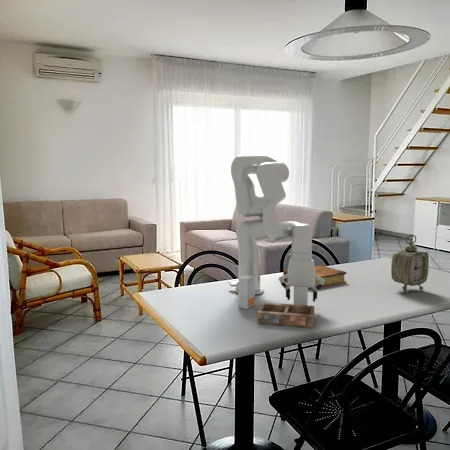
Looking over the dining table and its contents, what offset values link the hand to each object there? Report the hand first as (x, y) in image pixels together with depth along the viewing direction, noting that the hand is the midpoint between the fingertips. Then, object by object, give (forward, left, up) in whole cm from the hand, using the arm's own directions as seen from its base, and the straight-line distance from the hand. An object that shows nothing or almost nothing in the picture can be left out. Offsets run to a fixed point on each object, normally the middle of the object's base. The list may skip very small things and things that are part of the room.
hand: (301, 299), depth 170 cm
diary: (+3, +44, -5) cm, 44 cm away
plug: (0, 0, -4) cm, 4 cm away
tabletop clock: (+44, +37, -4) cm, 58 cm away
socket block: (-4, -13, -4) cm, 14 cm away
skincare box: (-21, -1, -4) cm, 22 cm away
